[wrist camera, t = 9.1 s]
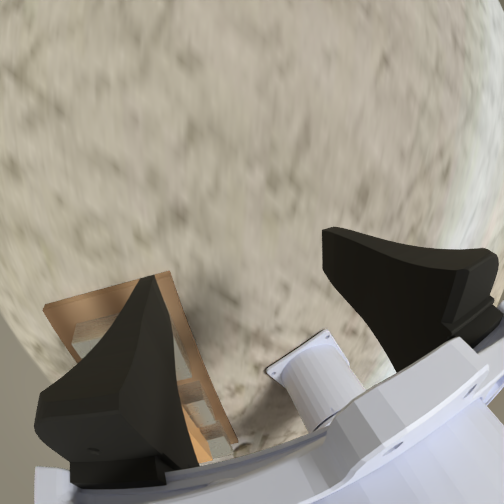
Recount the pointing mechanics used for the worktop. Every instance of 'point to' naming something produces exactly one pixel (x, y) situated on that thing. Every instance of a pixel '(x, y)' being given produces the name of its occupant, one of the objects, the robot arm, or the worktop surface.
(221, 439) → the rail
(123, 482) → the robot arm
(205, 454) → the tan rectangular plank
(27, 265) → the worktop surface
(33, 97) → the worktop surface
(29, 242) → the worktop surface
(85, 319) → the rail base
